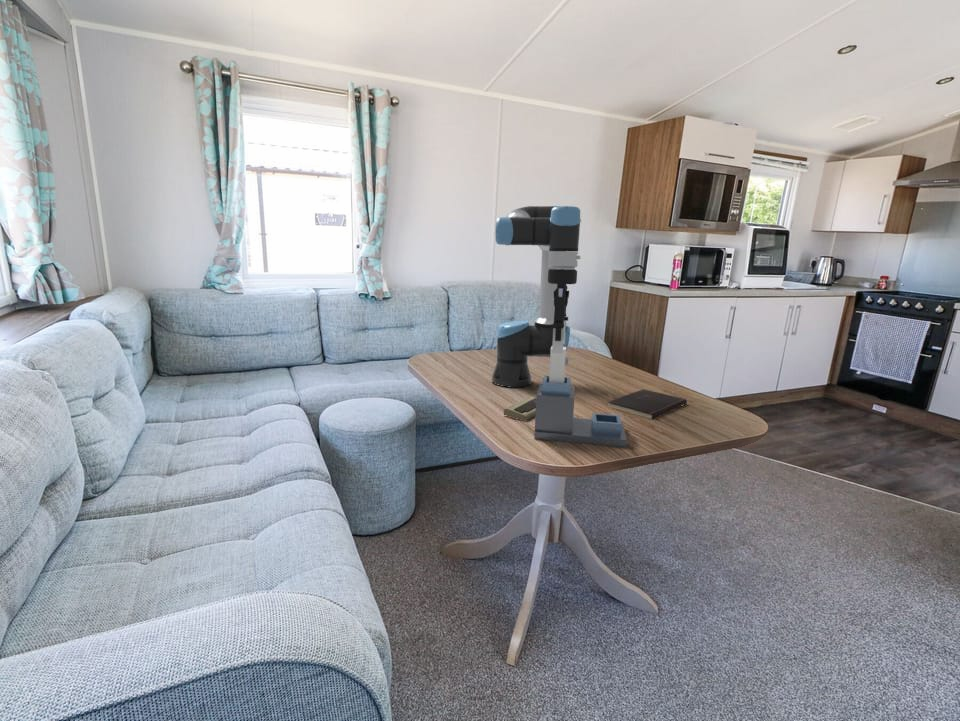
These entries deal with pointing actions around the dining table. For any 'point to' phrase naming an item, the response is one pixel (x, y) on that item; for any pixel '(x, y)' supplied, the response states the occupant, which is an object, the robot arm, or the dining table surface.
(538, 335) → the robot arm
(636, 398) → the hardcover book
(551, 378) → the plug
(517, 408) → the olive rectangular tray
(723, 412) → the dining table surface
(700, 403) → the dining table surface
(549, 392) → the stepped holder stand
